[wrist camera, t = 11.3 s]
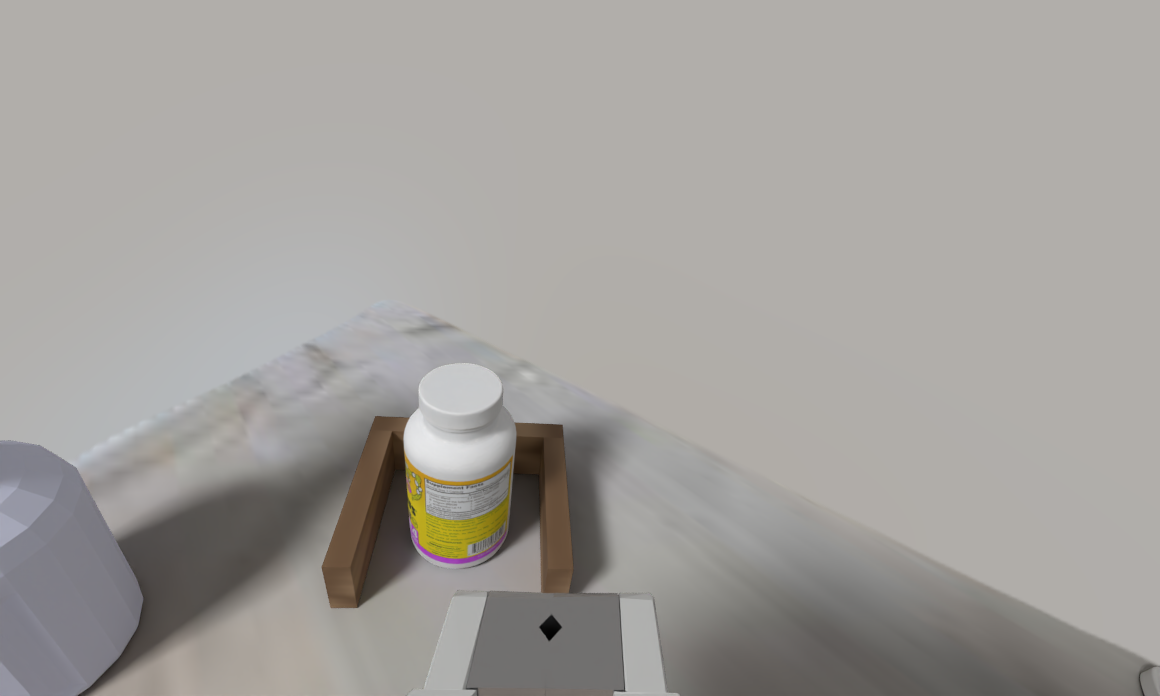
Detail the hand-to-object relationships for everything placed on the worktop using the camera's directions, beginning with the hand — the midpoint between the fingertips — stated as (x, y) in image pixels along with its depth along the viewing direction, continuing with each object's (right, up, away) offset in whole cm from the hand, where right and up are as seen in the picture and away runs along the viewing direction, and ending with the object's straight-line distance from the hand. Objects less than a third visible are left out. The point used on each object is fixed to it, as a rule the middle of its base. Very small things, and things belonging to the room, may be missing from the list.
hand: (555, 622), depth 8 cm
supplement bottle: (-8, -9, +29) cm, 31 cm away
